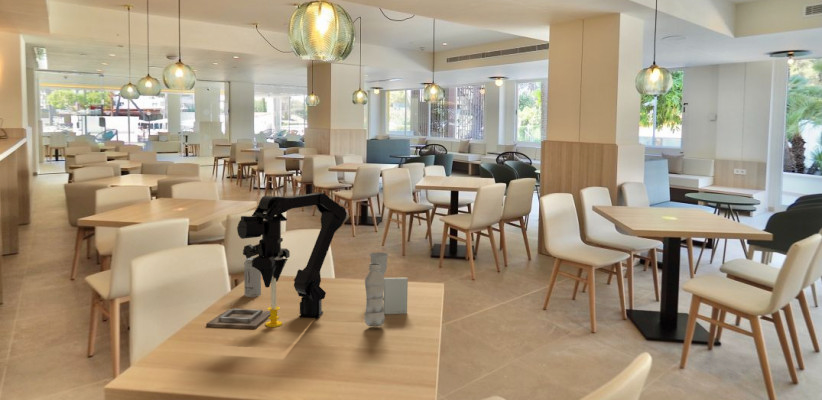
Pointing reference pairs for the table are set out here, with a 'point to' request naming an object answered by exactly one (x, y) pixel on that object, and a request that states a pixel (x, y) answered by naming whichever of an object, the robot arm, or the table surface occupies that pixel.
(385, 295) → the external hard drive
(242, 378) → the table surface
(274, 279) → the candle
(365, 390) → the table surface
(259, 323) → the socket board
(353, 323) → the table surface
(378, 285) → the plastic bottle
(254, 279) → the energy drink can
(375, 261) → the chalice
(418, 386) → the table surface
